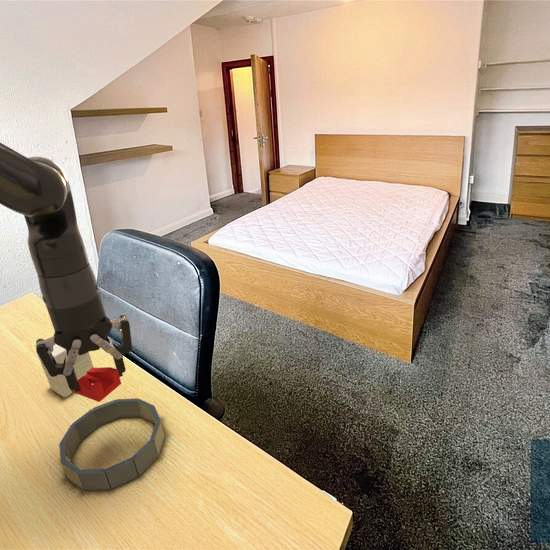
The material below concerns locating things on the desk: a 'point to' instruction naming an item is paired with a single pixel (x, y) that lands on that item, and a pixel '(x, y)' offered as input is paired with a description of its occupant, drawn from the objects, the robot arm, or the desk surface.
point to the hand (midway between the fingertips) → (99, 381)
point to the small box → (60, 381)
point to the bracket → (98, 383)
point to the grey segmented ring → (119, 471)
